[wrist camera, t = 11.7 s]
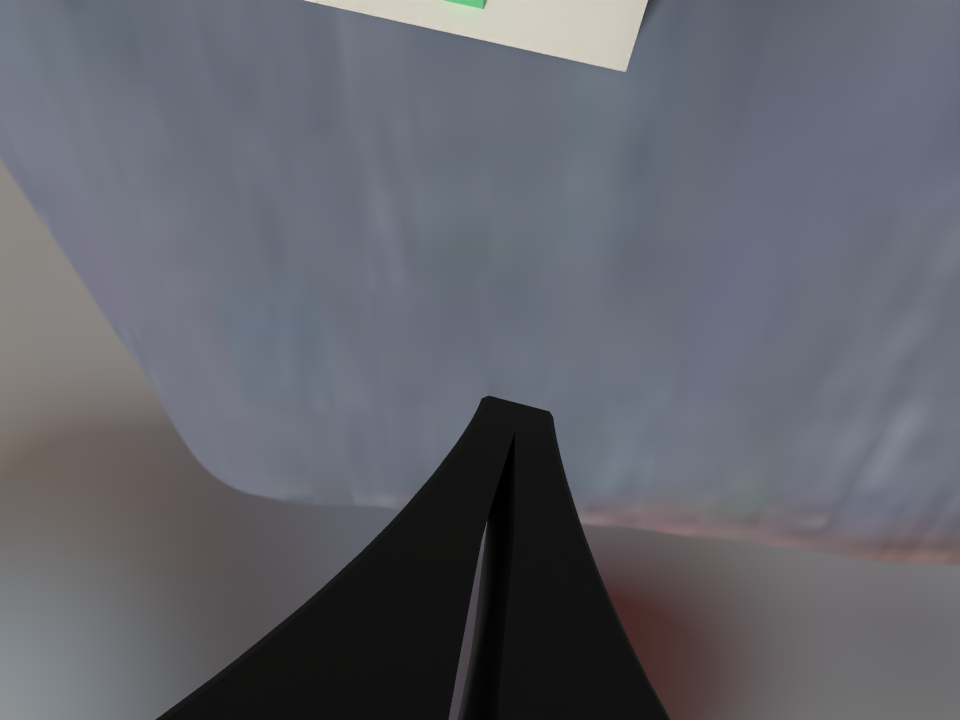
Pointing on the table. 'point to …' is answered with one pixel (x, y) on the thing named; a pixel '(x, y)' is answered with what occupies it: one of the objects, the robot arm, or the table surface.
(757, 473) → the table surface
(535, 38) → the frame
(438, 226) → the table surface
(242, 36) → the table surface
